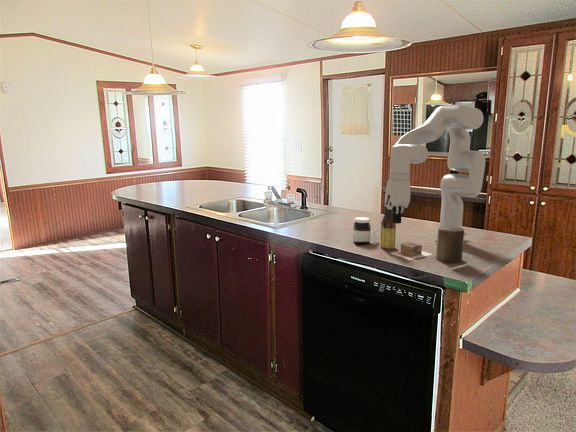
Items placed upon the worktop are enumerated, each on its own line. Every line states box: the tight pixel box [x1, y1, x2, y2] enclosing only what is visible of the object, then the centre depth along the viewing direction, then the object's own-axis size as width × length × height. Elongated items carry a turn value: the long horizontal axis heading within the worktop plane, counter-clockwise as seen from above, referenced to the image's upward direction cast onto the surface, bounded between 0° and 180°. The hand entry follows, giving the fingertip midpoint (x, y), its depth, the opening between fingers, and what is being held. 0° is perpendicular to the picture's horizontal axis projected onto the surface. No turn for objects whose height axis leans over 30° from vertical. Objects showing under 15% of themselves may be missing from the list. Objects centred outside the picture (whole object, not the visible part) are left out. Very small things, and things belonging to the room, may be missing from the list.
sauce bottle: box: [380, 204, 397, 251], centre depth 181 cm, size 6×6×20 cm
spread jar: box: [352, 216, 379, 246], centre depth 192 cm, size 12×11×12 cm
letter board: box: [389, 250, 433, 261], centre depth 175 cm, size 14×11×1 cm
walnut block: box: [400, 241, 423, 257], centre depth 174 cm, size 6×6×4 cm
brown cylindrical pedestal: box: [435, 225, 465, 264], centre depth 165 cm, size 10×10×15 cm
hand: (396, 222), depth 167 cm, fingers closed
